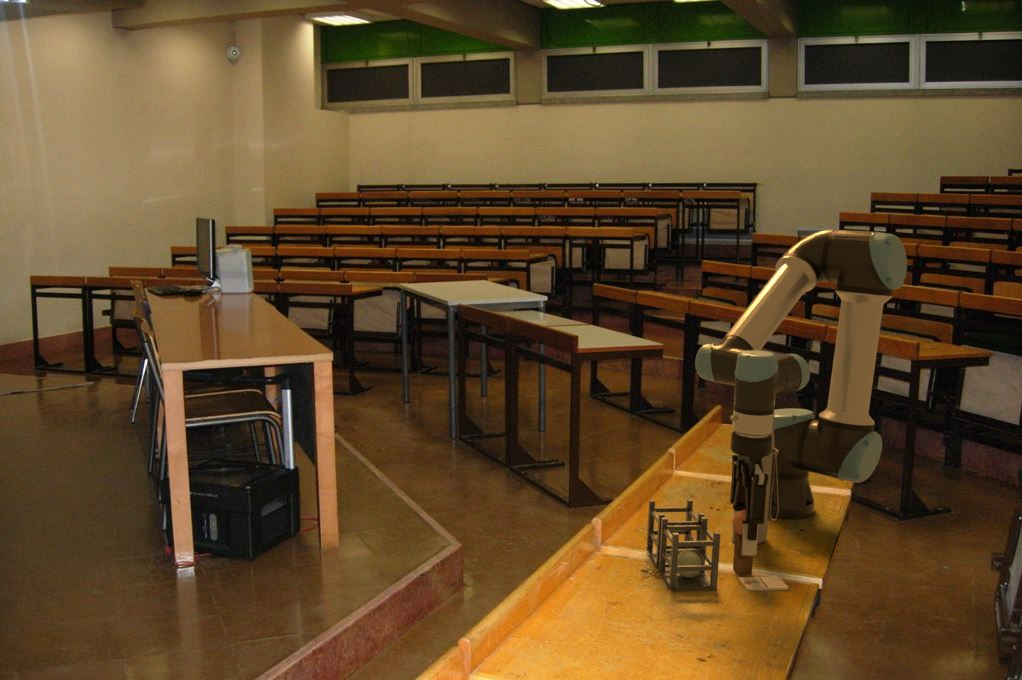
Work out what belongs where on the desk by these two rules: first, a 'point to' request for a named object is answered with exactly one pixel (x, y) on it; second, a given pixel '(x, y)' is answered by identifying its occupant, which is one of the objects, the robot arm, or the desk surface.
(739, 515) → the ball terracotta
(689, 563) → the ball sage
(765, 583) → the card
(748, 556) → the peg stand
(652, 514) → the wireframe cube
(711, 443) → the desk surface
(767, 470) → the water bottle
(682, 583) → the dark open frame crate
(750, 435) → the robot arm
